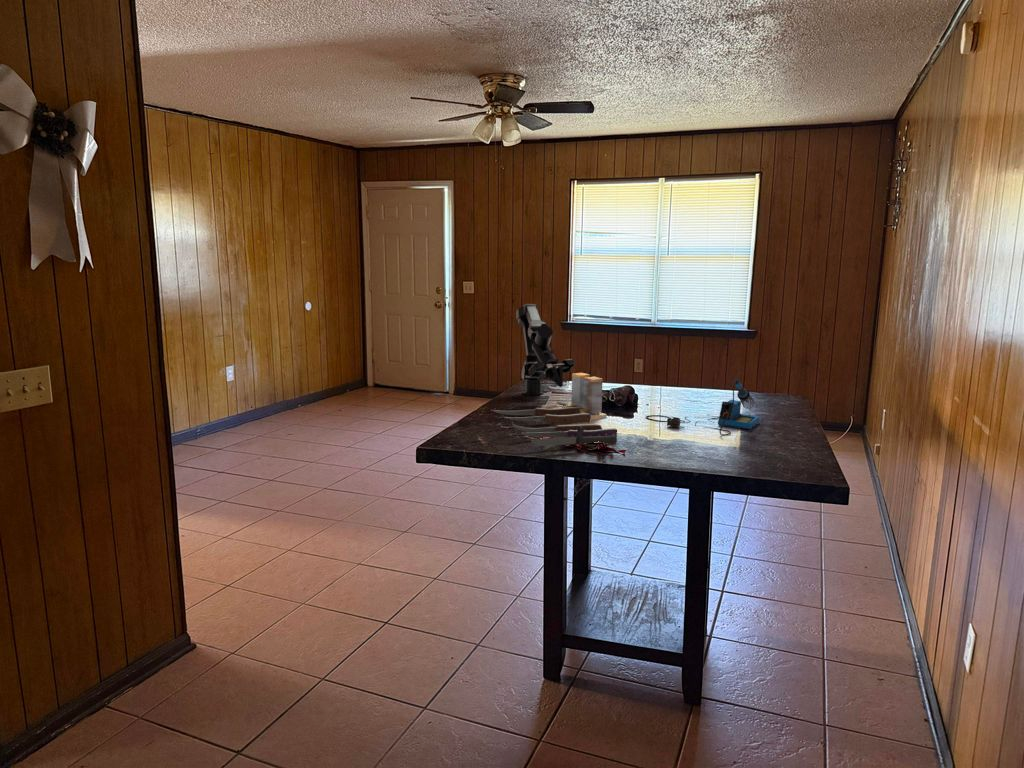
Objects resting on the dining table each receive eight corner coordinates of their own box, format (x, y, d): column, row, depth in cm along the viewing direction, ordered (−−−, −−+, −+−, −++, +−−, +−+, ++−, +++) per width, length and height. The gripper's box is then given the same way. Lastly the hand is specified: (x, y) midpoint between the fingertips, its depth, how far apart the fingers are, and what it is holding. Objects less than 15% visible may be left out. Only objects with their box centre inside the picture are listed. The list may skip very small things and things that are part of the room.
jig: (541, 408, 257) (542, 371, 254) (564, 405, 263) (565, 369, 260) (582, 421, 238) (583, 381, 236) (606, 417, 244) (607, 378, 242)
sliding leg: (559, 409, 248) (560, 375, 245) (580, 406, 253) (581, 372, 251) (567, 412, 244) (568, 377, 242) (588, 408, 250) (589, 374, 247)
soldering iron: (634, 423, 237) (637, 370, 233) (667, 407, 263) (670, 358, 259) (738, 440, 218) (743, 383, 215) (762, 421, 244) (767, 369, 241)
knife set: (488, 423, 230) (489, 400, 229) (579, 420, 241) (581, 399, 240) (524, 455, 198) (526, 429, 196) (627, 451, 209) (630, 426, 207)
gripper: (553, 363, 275) (570, 395, 269) (514, 367, 265) (531, 401, 258) (566, 345, 268) (584, 379, 261) (527, 349, 257) (545, 384, 250)
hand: (561, 386), depth 258 cm, fingers closed
